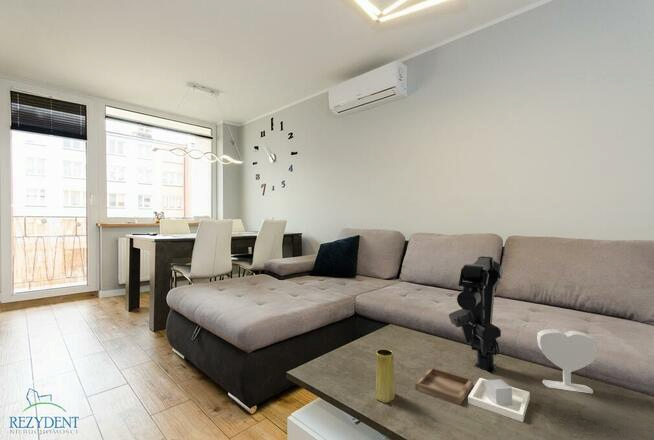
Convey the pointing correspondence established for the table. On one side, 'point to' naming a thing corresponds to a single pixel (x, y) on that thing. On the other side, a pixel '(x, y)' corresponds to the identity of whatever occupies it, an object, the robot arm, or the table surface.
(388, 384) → the vase
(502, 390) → the stone block
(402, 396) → the table surface
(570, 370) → the heart sculpture
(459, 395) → the walnut tray
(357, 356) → the table surface
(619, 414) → the table surface
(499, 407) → the cream tray
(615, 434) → the table surface
